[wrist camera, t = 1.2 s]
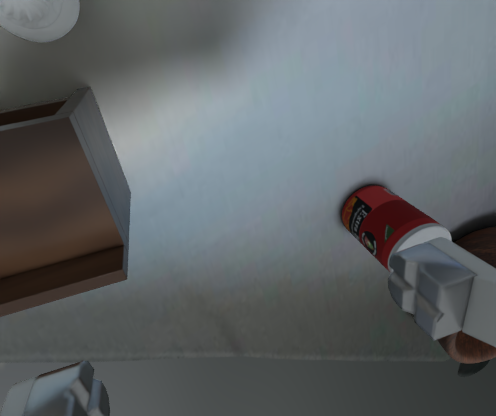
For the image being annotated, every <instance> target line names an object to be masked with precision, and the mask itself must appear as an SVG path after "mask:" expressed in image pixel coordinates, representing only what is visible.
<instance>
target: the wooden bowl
mask: <svg viewBox="0 0 496 416" xmlns="http://www.w3.org/2000/svg"><path fill="white" fill-rule="evenodd" d="M454 243H455V244H457V245H458V246H460V247H461V248H463V249H465V250H466V251H468V252H470V253H471V254H473V255H474V256H476V257H478V258H479V259H481V260H483V261H484V262H486V263H488V264H489V265H491V266H492V267H494V268H496V227H490V228H485V229H481V230H477V231H474V232H472V233H470V234H468V235H466V236H464V237H462V238H460V239H459V240H457V241H456V242H454ZM437 340H438V341H439V343H440V344H441V346H442V347H443V348H444V350H445V351H446V352H447V353H448V355H449V356H450V357H451V358H453V359H454V360H456V361H458V362H461V363H478V362H482V361H486V360H489V359H491V358H494V357H496V347H494V346H492V345H490V344H487V343H485V342H483V341H481V340H479V339H477V338H474V337H472V336H470V335H468V334H466V333H464V332H462V330H461V331H458V332H456V333H453V334H450V335H448V336H445V337H442V338H439V339H437Z"/></svg>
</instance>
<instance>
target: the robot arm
mask: <svg viewBox="0 0 496 416" xmlns="http://www.w3.org/2000/svg"><path fill="white" fill-rule="evenodd" d="M389 266H390V267H391V268H392V269H393V272H392V273H391V275H390V276H389V278H388V288H389V290H390V293H391V296H392V298H393V299H394V301H395V302H396V304H397V305H398V306H399V307H400V308H401V309H402V310H404V311H407V312H410V313H412V314H414V321H415V323H416V324H417V325H418V326H419V327H420V328H421V329H422V330H423V331H424V332H425V333H426V334H427V335H428V336H429V337H430V338H432V339H433V340H437V339H439V338H442V337H445V336H448V335H450V334H453V333H456V332H458V331H461V330H462V332H464V333H466V334H468V335H470V336H472V337H474V338H477V339H479V340H481V341H483V342H485V343H487V344H490V345H492V346H494V347H496V268H494V267H492V266H491V265H489V264H488V263H486V262H484V261H483V260H481V259H479V258H478V257H476V256H474V255H473V254H471V253H470V252H468V251H466V250H465V249H463V248H461V247H460V246H458V245H457V244H455V243H453V242H452V241H450V240H448V239H447V238H443V237H438V238H435V239H432V240H429V241H426V242H424V243H421V244H418V245H415V246H413V247H410V248H407V249H404V250H401V251H399V252H396V253H393V254H392V255H391V257H390V259H389ZM93 375H94V369H93V367H92V366H91V364H90V363H89V361H82V362H79V363H75V364H72V365H70V366H66V367H63V368H60V369H57V370H54V371H51V372H48V373H44V374H41V375H39V376H37V377H34V378H30V379H27V380H24V381H21V382H18V383H15V384H14V385H13V387H11V389H10V390H9V392H8V394H7V396H6V399H5V401H4V404H3V406H2V409H1V412H0V416H109V415H110V407H109V397H108V394H107V391H106V388H105V386H104V385H103V383H102V381H99V380H96V379H93Z"/></svg>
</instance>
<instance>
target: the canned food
mask: <svg viewBox="0 0 496 416" xmlns="http://www.w3.org/2000/svg"><path fill="white" fill-rule="evenodd" d="M342 220H343V223H344V225H345V227H346V229H347V230H348V231H349V232H350V233H351V234H352V235H353V236H354V237H355V238H356V239H357V240H358V241H359V242H360V243H361V244H362V245H363V246H364V247H365V248H366V249H367V250H368V251H369V252H370V253H371V254H372V255H373V256H374V257H375V258H376V259H377V260H378V261H379V262H380V263H381V264H382V265H383V266H384V267H385V268H386V269H387V270H388V271H389V272H390V273H392V272H393V269H392V268H391V267H390V266H389V259H390V257H391V255H392V254H393V253H396V252H399V251H401V250H404V249H407V248H410V247H413V246H415V245H418V244H421V243H424V242H426V241H429V240H432V239H435V238H438V237H443V238H447V239H448V240H450V241H452V237H451V234H450V232H449V231H448V230H447V229H446V228H445V227H444V226H442V225H441V224H439V223H438V222H436V221H435V220H434V219H432V218H431V217H429V216H427V215H426V214H424V213H423V212H421V211H420V210H418V209H417V208H415V207H414V206H412V205H411V204H409V203H408V202H406V201H405V200H403V199H402V198H400V197H399V196H397V195H396V194H394V193H393V192H391V191H390V190H388V189H387V188H384V187H381V186H375V185H372V186H366V187H363V188H361V189H359V190H358V191H356V192H355V193H354V194H353V195H351V196H350V198H349V199H348V200H347V201H346V203H345V205H344V207H343V211H342Z"/></svg>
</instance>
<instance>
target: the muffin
mask: <svg viewBox="0 0 496 416" xmlns="http://www.w3.org/2000/svg"><path fill="white" fill-rule="evenodd" d="M79 10H80V4H79V0H0V25H1V26H2V27H3V28H4V29H6V30H7V31H9V32H10V33H12V34H14V35H16V36H18V37H20V38H23V39H26V40H29V41H34V42H50V41H54V40H57V39H59V38H61V37H63V36H64V35H65V34H67V33H68V32H69V31H70V30H71V29H72V28H73V26H74V25H75V23H76V21H77V19H78V16H79Z"/></svg>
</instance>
